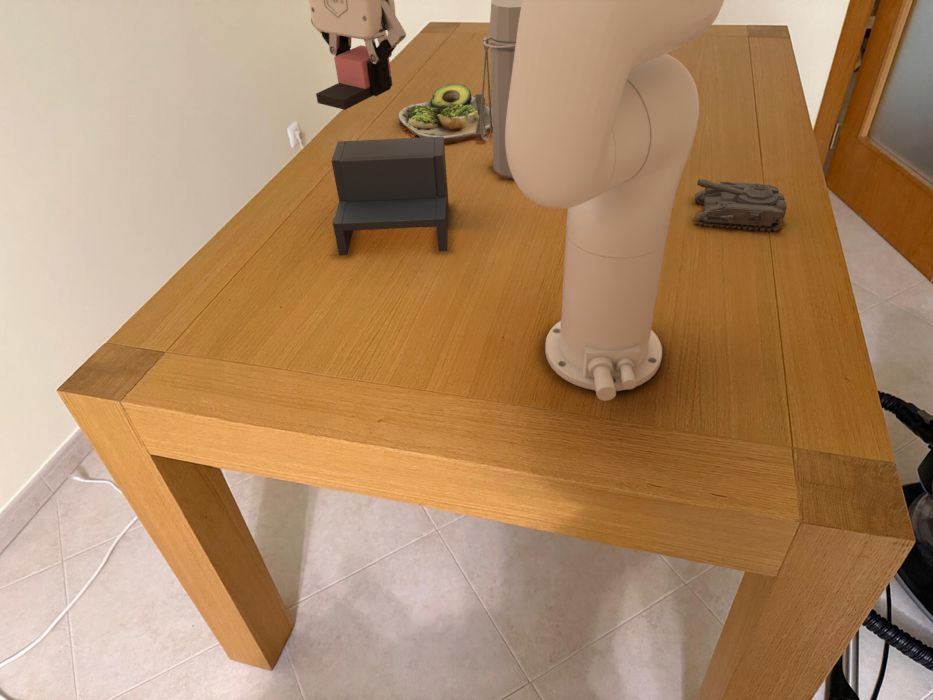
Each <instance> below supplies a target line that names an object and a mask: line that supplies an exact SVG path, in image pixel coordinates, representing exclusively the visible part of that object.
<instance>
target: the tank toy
mask: <svg viewBox="0 0 933 700" xmlns="http://www.w3.org/2000/svg"><path fill="white" fill-rule="evenodd" d="M696 186H699V187H701V188H704V189H703V190H699V192H696V193H695V194H694V201H695V203H698V205H699V204H702V205H703V207H704V211H702V210H701V211H700V212H699V213H697V214H695V216H694V221H695V224H698V225H699V226H702V225H703V226H705V227H707V226H709V227H712V226H713V227H716V228H718V227H720V228H724V227H725V228H727V229H730V227H731V229H735V228H736V229H737V230H741V228H742V230H747V229H748V231H753V230H754V231H758V230H759V231H760V232H765V230H766V232H772V231H773V232H776V231H778V230H779V229H780V228H781V227H782V226H783V219H784V218H785V216H786V214H787V207H788V206H787V203H786V201H785V199H786V198H785V195H784V194H783V193H781V192H780V190H779V188H778V187H776V186H774V185H771V184H764V183H747V182H733V181H720V182H718V183H717V182H712V181H711V180H707V179H704V178H702V179H701V178H699V179H698V180H697V183H696Z"/></svg>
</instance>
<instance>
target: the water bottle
mask: <svg viewBox="0 0 933 700" xmlns="http://www.w3.org/2000/svg"><path fill="white" fill-rule="evenodd" d="M521 5H522V0H491V1H490V15H489V30H488V31H489V32H488V33H489V36H487V37H486V36H485V37H484V38H483V39H482V44H483V49H484V61H483V62H484V63H483V77H482V90H481V95H482V100H481V113H480V132H481V136H480V137H481V139H482V141H486V142H487V141H489V140H490V139H491V137H492V158H493V161H492V162H493V171H494V173H496V174H497V175H498V176H500V177H502V178H506V179H510V180H514V179H513V176H512V174H511V172H510V169H509V165H508V161H507V156H506V148H505V125H506V115H507V107H508V99H509V91H510V84H511V76H512V69H513V61H514V54H515V46H516V39H517V31H518V24H519V17H520V11H521ZM489 43H490V44H489ZM489 48H490V67H489V51H488V50H489ZM486 76H487V77H486ZM490 76H491V78H490ZM486 78H487V98H488V100H487V101H488V107H489V121H490V128H489V135H488V136H485V135H484V134H483V129H482V112H483V98H485V95H484V94H485V82H486ZM490 79H491V81H490ZM490 83H491V84H490ZM491 109H492V115H491ZM492 123H493V126H492Z"/></svg>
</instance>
